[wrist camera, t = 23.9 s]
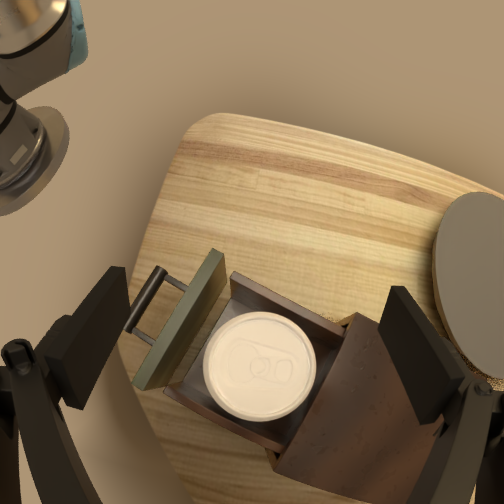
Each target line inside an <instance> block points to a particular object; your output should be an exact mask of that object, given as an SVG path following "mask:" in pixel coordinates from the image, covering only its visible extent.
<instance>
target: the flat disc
mask: <svg viewBox="0 0 504 504" xmlns="http://www.w3.org/2000/svg"><path fill="white" fill-rule="evenodd" d="M432 254H433V259H432V279H433V289H434V299H435V303H436V308H437V310H438V313H439V315H440V317H441V321H442V324H443V326H444V327H445V330H446V332H447V333H448V336H449V338H450V340H451V342H452V344H453V345H454V346H455V347H456V348H457V349H458V351H459V352H460V353H461V354H462V355H464V356H465V357H467V358H468V359H469V360H470V361H471V362H472V363H473V364H474V366H475V367H477V368H478V369H479V370H481V371H482V372H483V373H485V374H487V375H489V376H491V377H494V378H498V379H504V200H502V199H501V198H499V197H496V196H494V195H492V194H488V193H484V192H471V193H467V194H464V195H462V196H460V197H458V198H457V199H456V200H455V201H454V202H452V204H451V205H450V206H449V207H448V209H447V210H446V212H445V214H444V216H443V218H442V221H441V224H440V226H439V230H438V232H437V233H436V236H435V240H434V242H433V248H432Z"/></svg>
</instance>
